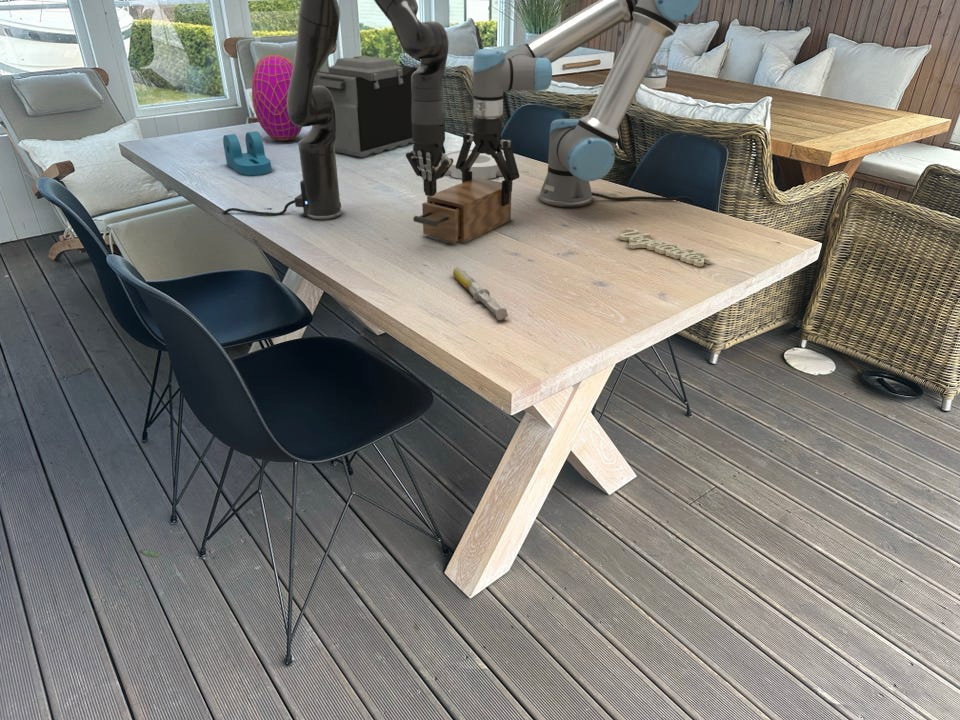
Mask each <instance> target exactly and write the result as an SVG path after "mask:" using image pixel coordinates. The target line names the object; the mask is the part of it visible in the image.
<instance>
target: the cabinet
mask: <svg viewBox="0 0 960 720" xmlns="http://www.w3.org/2000/svg"><path fill="white" fill-rule="evenodd" d="M501 198H502V181H497V180H493V179H483V178H478V177H476V178H473V179H471V180H468V181H466V182H463V183H462V182H461V183H458V184H456V185H455V184H454V185H453V186H451V187H448V188H445V189H442V190H439V191H438V192H436V193H435V195H434V196H426V202H427V203H431V204H432V202H438V203H442V204H446V205H450V206H455V207H459V208H461V236H460V237H458V241H457V242H456V243H460V244H465V243H467V242H470V241H472V240H474V239H476V238H478V237H480V236H482V235H484V234H486V233H488V232H490V231H492V230H495V229H496V228H498V227H500V226H502V225H504V224H507V223H509V222H511V219H512V218H511V217H512V214H511V213H512V192H511V193H510V195H509V204H507V205H505V206H501Z"/></svg>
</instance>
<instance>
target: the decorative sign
mask: <svg viewBox="0 0 960 720" xmlns="http://www.w3.org/2000/svg"><path fill="white" fill-rule="evenodd" d="M618 239H619V240H620V241H624V242H625V241H628V243H629V244H628V249H632V250H633V249H646V250H649V251H654V253H657V254H660V255H664V256H667V257H671V258H673V259H675V260H680V261H681V262H683V263H684V262H685V263H687V264H690V265H693V266H695V267H703V266H704V265H705V264H706V265H710V264H711V263H710V262H711V259H710V258H709V257H704V254H705V253H704V252H703V251H694V248H691V247H690V248H689V247H688V248H679V247H678V245H676V244H674V243H673V242H667V241H662V242H661V241H656V240H653V239H651V233H647V232H646V233H639V230H638V229H635V228H627V227H626V228H625V231H624V232H623V233H620V234H619V237H618Z"/></svg>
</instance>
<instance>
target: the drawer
mask: <svg viewBox="0 0 960 720" xmlns="http://www.w3.org/2000/svg"><path fill="white" fill-rule="evenodd" d="M421 205H422V206H421V209H422V214H421V215H414V216H413V219H412V221H413V222H415V223H418V224H422V234H423V235H426V236H430V237H434V238H438V239H441V240H444V241H449V242H452V243H458V242H457V241H458V237H460V236H461V208H459V207H455V206H450V205H446V204H442V203H438V202H432V204H431V203H427V201H426V202H422V203H421Z"/></svg>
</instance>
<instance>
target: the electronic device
mask: <svg viewBox="0 0 960 720" xmlns="http://www.w3.org/2000/svg"><path fill="white" fill-rule="evenodd" d="M418 69H419V67H417V66H408V65H400V64H396V62H395V60H394V59H393V58H385V57H377V56H367V55H356V56H353V57H350V58H349V57H343V58H342V57H341V58H337V59H336V60H335V63H334V64H333V65H330V66H329V67H328V72H327V71H321V70H319V72H318V74H317V76H316V79H315V82H314V86H324V87H326V88H327V89H328V90H329V91H330V93H331V95H332V97H333V101H334V106H335V120H336V142H335V153H340V154H344V155H348V156H353V157H357V158H362V159H363V158H366V157H367V158H368V157H369V155H371V154H375V155H377V154H381V153H382V152H383V151H391V150H395V149H396V148H397V147H405V146H407V145H408V144H414V141H413V140H412V119H411V105H412V93H411V77H412V74H413V73H414V72H415V71H416V70H418Z"/></svg>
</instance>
